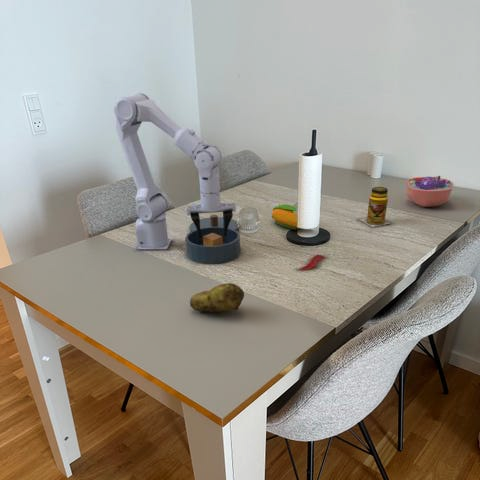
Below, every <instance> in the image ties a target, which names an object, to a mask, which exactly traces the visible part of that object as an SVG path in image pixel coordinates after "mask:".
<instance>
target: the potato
mask: <svg viewBox="0 0 480 480" xmlns="http://www.w3.org/2000/svg"><path fill="white" fill-rule="evenodd" d="M244 298H245V292H244V290H243V288H241V286H239V285H238V284H235V283H232V282H227V283H222V284H219V285H216V286H214V287H213V288H211V289H209V290H204V291H200V292H198V293H195V294H194V295H192V296H191V297H190V300H189V306H190V308H191V309H193V310H195V311H197V312H209V313H222V312H225V311H229V310H235V311H237V310H239V307H240V306H241V304H242V302H243V300H244Z"/></svg>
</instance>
